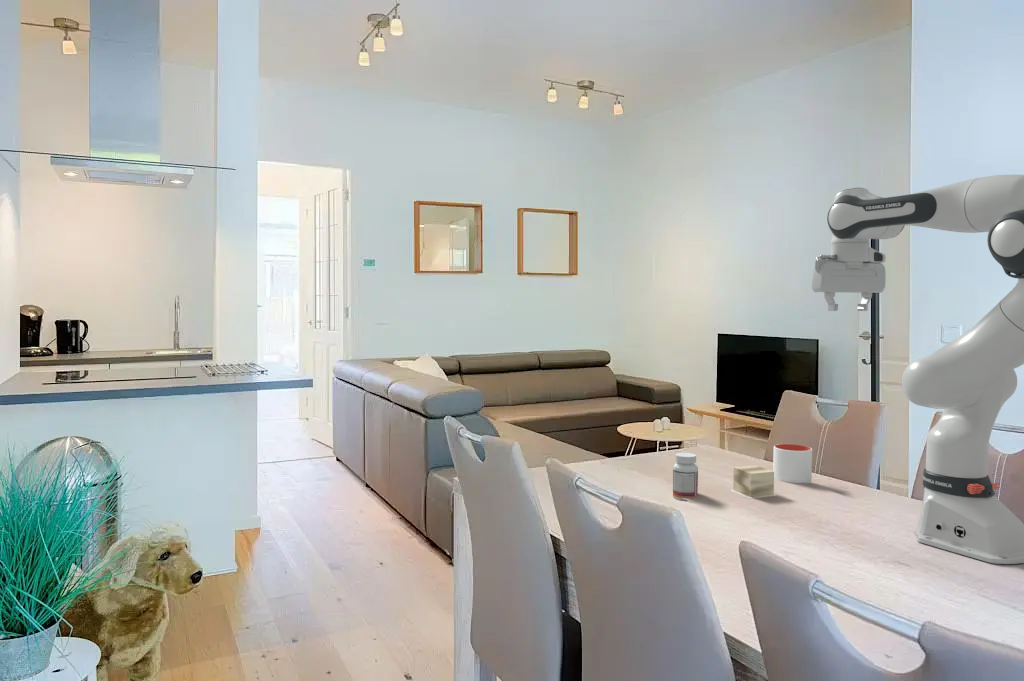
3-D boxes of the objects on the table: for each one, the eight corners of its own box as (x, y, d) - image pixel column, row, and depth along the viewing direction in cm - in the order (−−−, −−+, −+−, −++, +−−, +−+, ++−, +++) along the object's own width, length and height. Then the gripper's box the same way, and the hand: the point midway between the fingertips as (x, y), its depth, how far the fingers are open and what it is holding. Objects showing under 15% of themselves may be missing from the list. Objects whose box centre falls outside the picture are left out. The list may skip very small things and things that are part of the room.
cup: (817, 487, 192) (818, 451, 192) (780, 487, 193) (781, 451, 192) (803, 478, 202) (803, 443, 202) (767, 478, 203) (768, 443, 202)
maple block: (773, 494, 180) (774, 471, 180) (750, 497, 178) (751, 473, 178) (755, 488, 187) (756, 465, 186) (733, 490, 184) (733, 467, 184)
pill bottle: (682, 493, 186) (683, 451, 185) (702, 499, 181) (703, 455, 180) (667, 498, 182) (668, 454, 181) (687, 503, 177) (688, 458, 177)
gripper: (825, 253, 170) (824, 311, 171) (891, 255, 177) (889, 311, 178) (806, 255, 176) (805, 310, 177) (870, 257, 183) (869, 310, 184)
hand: (847, 311), depth 178 cm, fingers open, 8 cm apart
